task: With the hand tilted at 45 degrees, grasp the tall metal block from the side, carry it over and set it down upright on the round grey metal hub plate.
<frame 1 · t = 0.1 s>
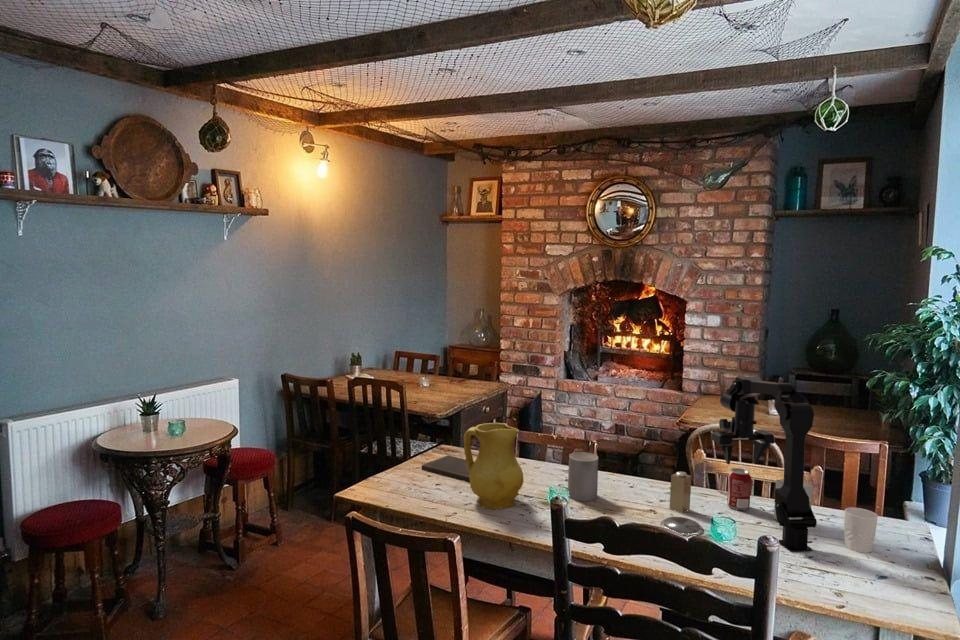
hand: (741, 463, 203), 15 cm above the table, tool pointing down, fingers open, 9 cm apart
supplement box: (791, 523, 194), on the table
hub plate: (681, 527, 187), on the table
pillar candle: (582, 497, 211), on the table
pitcher: (494, 501, 205), on the table
soda can: (738, 507, 205), on the table
hardcover book: (459, 472, 234), on the table
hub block: (679, 509, 202), on the table
white cup: (858, 548, 177), on the table
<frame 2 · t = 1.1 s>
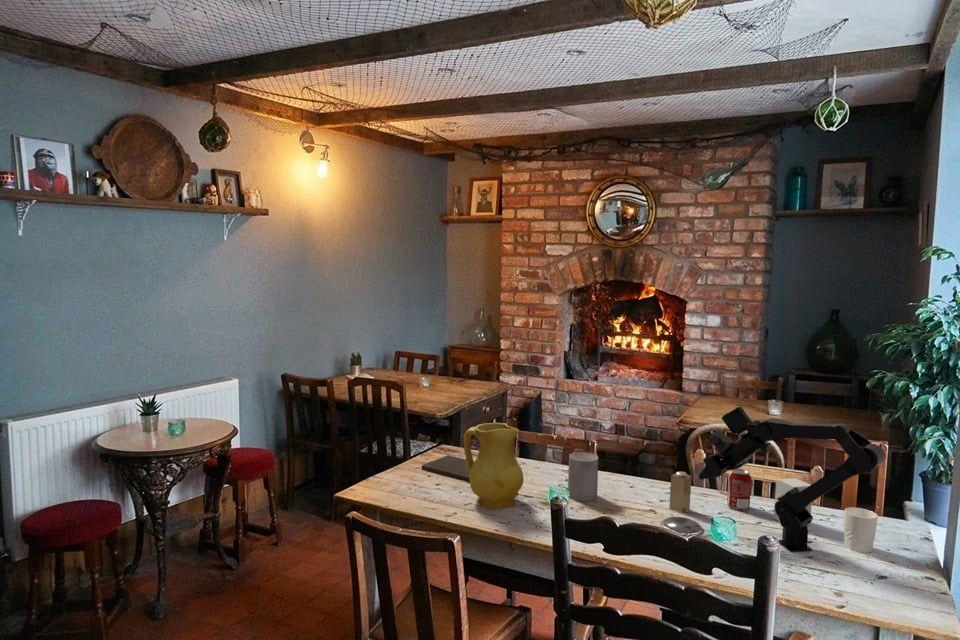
hand: (706, 474, 195), 13 cm above the table, tool tilted 45°, fingers open, 9 cm apart
nothing on the table moved.
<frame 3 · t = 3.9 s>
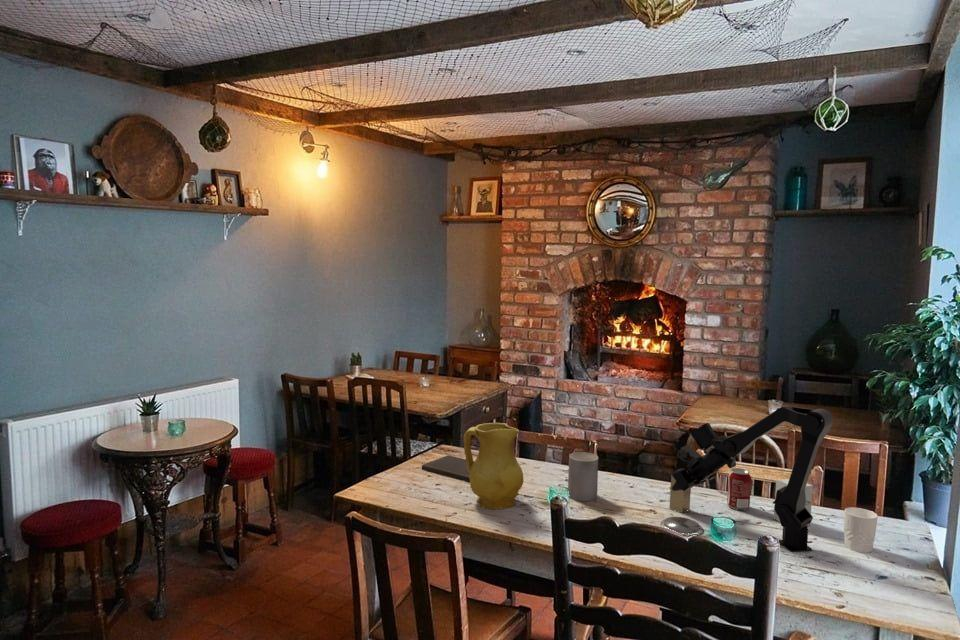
hand: (676, 487, 202), 7 cm above the table, tool tilted 45°, fingers closed on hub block, 4 cm apart
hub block: (679, 509, 202), on the table, touching gripper
everything else where it was.
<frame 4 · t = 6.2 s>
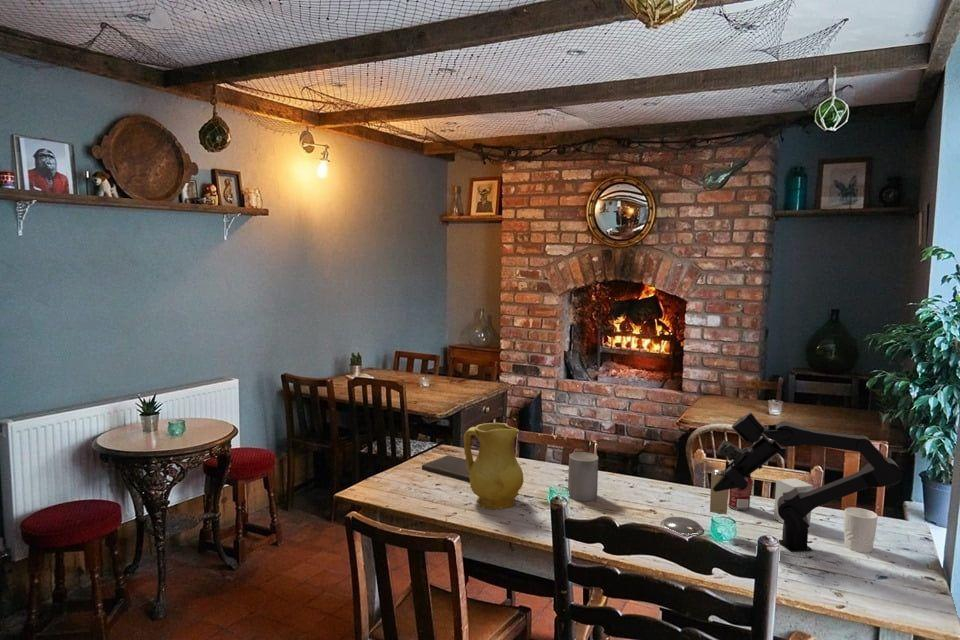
hand: (714, 487, 184), 13 cm above the table, tool tilted 45°, fingers closed on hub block, 4 cm apart
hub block: (718, 510, 184), point 7 cm above the table, touching gripper
everything else where it was.
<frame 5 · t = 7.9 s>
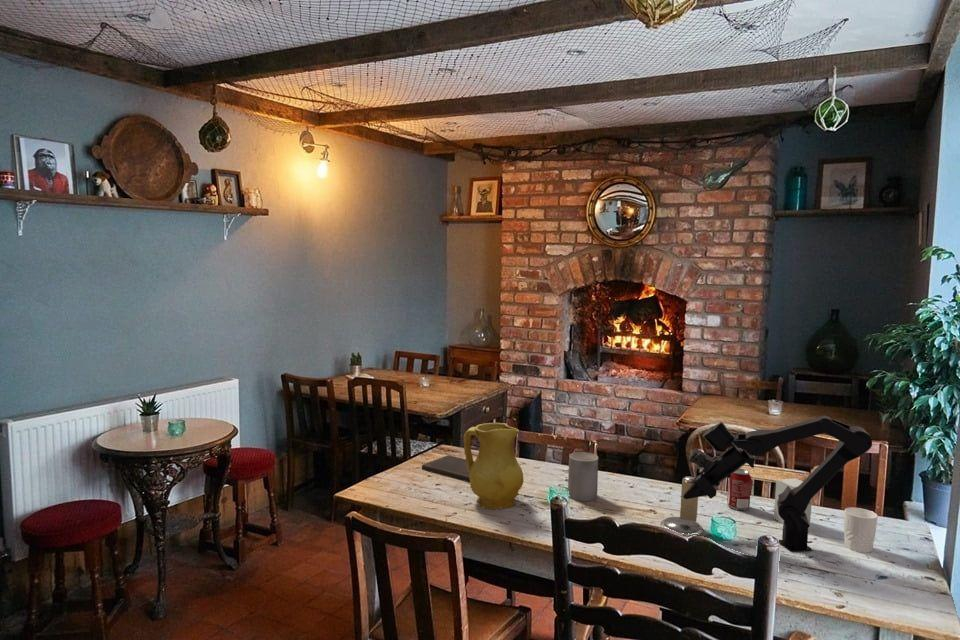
hand: (684, 495, 186), 10 cm above the table, tool tilted 45°, fingers closed on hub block, 4 cm apart
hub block: (688, 517, 187), point 3 cm above the table, touching gripper
everything else where it was.
when the fingers open (9 cm above the table, at t = 8.7 s): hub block drops 1 cm, resting on hub plate.
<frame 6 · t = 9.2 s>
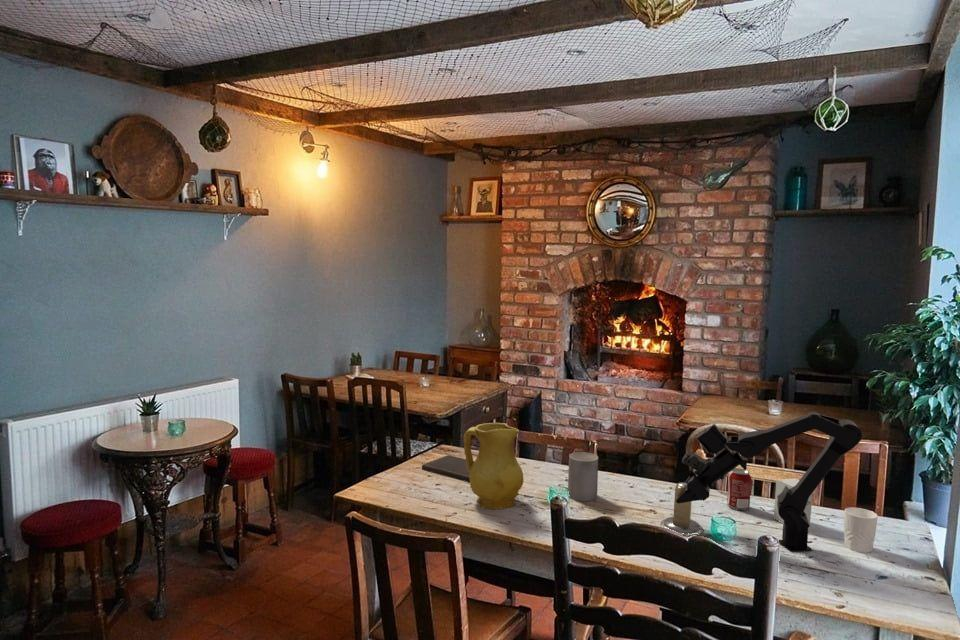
hand: (678, 496, 187), 9 cm above the table, tool tilted 45°, fingers open, 9 cm apart
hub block: (681, 523, 187), point 1 cm above the table, touching hub plate
everything else where it was.
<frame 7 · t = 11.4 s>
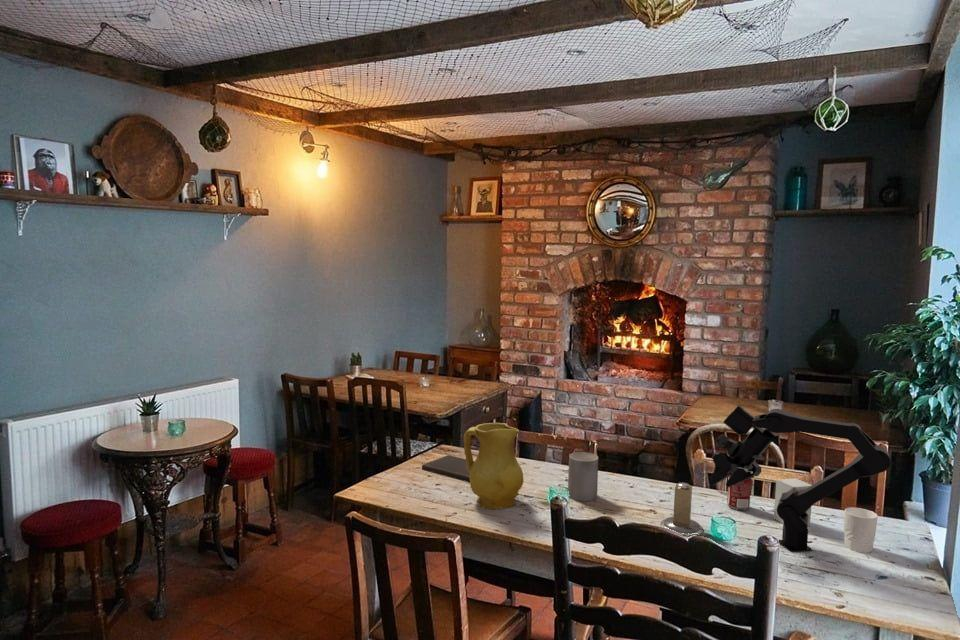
hand: (719, 485, 185), 13 cm above the table, tool tilted 35°, fingers open, 9 cm apart
nothing on the table moved.
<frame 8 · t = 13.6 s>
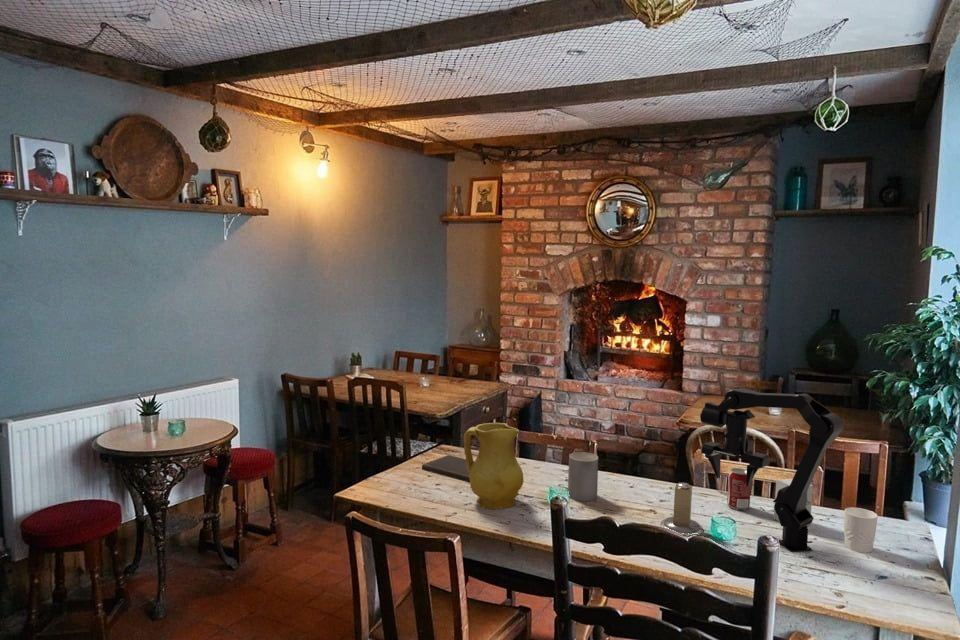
hand: (732, 482, 190), 13 cm above the table, tool pointing down, fingers open, 9 cm apart
nothing on the table moved.
at the end: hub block 0.0 cm from the hub plate (horizontally); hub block tilted 0°; the gripper is holding nothing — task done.
